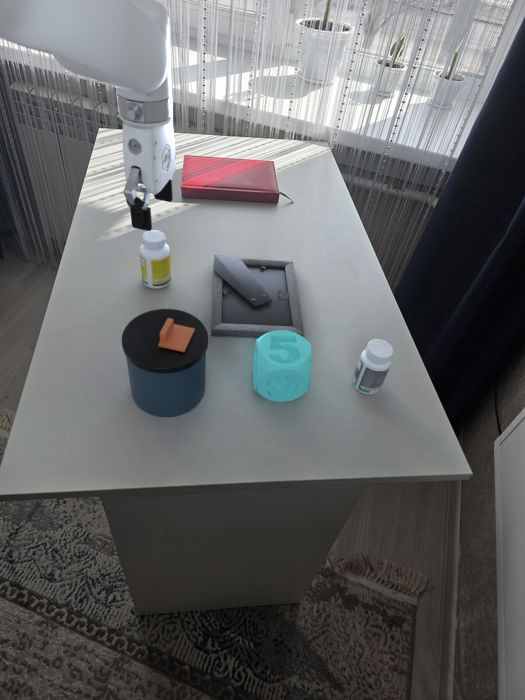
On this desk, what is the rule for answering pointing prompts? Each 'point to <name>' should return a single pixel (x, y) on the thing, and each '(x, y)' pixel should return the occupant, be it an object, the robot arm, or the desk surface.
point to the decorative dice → (282, 366)
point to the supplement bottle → (155, 260)
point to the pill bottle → (373, 366)
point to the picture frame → (254, 297)
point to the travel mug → (165, 364)
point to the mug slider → (175, 336)
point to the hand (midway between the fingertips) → (153, 213)
